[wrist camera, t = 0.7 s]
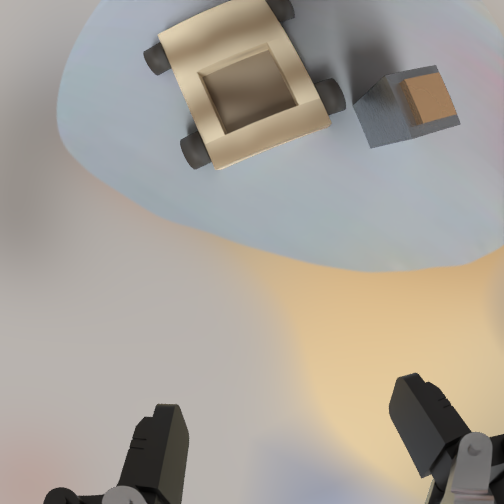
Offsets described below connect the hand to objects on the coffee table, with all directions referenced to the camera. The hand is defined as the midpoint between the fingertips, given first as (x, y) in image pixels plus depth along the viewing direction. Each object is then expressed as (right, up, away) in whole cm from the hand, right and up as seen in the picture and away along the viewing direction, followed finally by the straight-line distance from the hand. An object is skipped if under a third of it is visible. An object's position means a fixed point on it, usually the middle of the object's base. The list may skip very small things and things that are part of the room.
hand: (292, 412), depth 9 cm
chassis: (-2, +23, +15) cm, 28 cm away
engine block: (+11, +18, +15) cm, 26 cm away
